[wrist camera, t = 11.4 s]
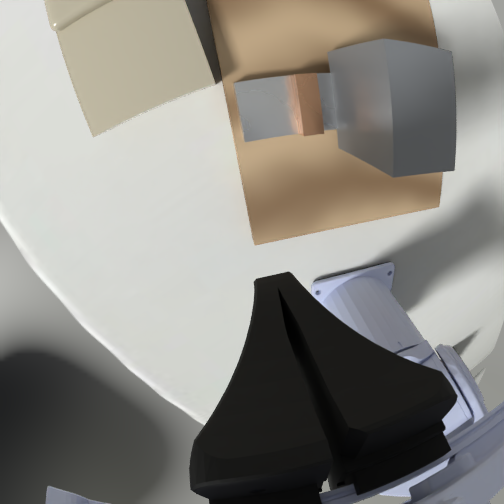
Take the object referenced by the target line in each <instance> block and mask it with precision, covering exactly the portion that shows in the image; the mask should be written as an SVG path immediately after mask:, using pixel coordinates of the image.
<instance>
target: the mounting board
mask: <svg viewBox="0 0 504 504" xmlns="http://www.w3.org/2000/svg"><path fill="white" fill-rule="evenodd" d="M206 2H207V7H208V12H209V17H210V22H211V27H212V32H213V37H214V42H215V47H216V52H217V57H218V62H219V67H220V72H221V77H222V82H223V87H224V92H225V97H226V102H227V108H228V113H229V118H230V123H231V128H232V133H233V138H234V143H235V149H236V154H237V159H238V164H239V169H240V174H241V180H242V185H243V190H244V195H245V200H246V205H247V211H248V216H249V221H250V226H251V232H252V237H253V241H254V244H255V245H260V244H264V243H269V242H274V241H278V240H283V239H288V238H292V237H297V236H302V235H306V234H311V233H316V232H321V231H325V230H330V229H335V228H340V227H344V226H349V225H354V224H359V223H364V222H368V221H373V220H378V219H383V218H388V217H392V216H397V215H402V214H407V213H412V212H417V211H422V210H427V209H431V208H436V207H439V204H440V195H441V185H442V172H437V173H428V174H419V175H411V176H403V177H396V178H393V177H391V176H389V175H387V174H386V173H384V172H382V171H380V170H379V169H377V168H375V167H373V166H372V165H370V164H368V163H366V162H364V161H362V160H361V159H359V158H357V157H355V156H353V155H351V154H349V153H347V152H345V151H343V150H341V149H339V148H338V137H337V129H335V130H325V131H324V134H319V135H311V136H302V135H300V134H293V135H287V136H280V137H274V138H268V139H262V140H256V141H250V142H244V140H243V136H242V130H241V125H240V120H239V114H238V109H237V104H236V99H235V93H234V88H233V83H236V82H242V81H248V80H255V79H262V78H270V77H279V76H289V75H294V74H306V73H330V67H329V61H328V54H327V52H329V51H333V50H336V49H340V48H344V47H348V46H352V45H356V44H360V43H364V42H369V41H374V40H379V39H391V40H398V41H404V42H410V43H416V44H421V45H426V46H431V47H435V48H438V43H437V37H436V32H435V26H434V21H433V16H432V12H431V8H430V3H429V0H206Z"/></svg>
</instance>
